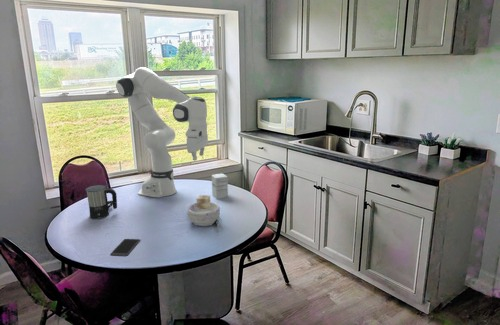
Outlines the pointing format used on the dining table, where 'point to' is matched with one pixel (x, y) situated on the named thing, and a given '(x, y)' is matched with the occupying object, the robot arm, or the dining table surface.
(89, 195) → the milk frother
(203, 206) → the maple block
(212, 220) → the paper bowls
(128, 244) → the cell phone
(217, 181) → the supplement box
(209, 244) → the dining table surface
